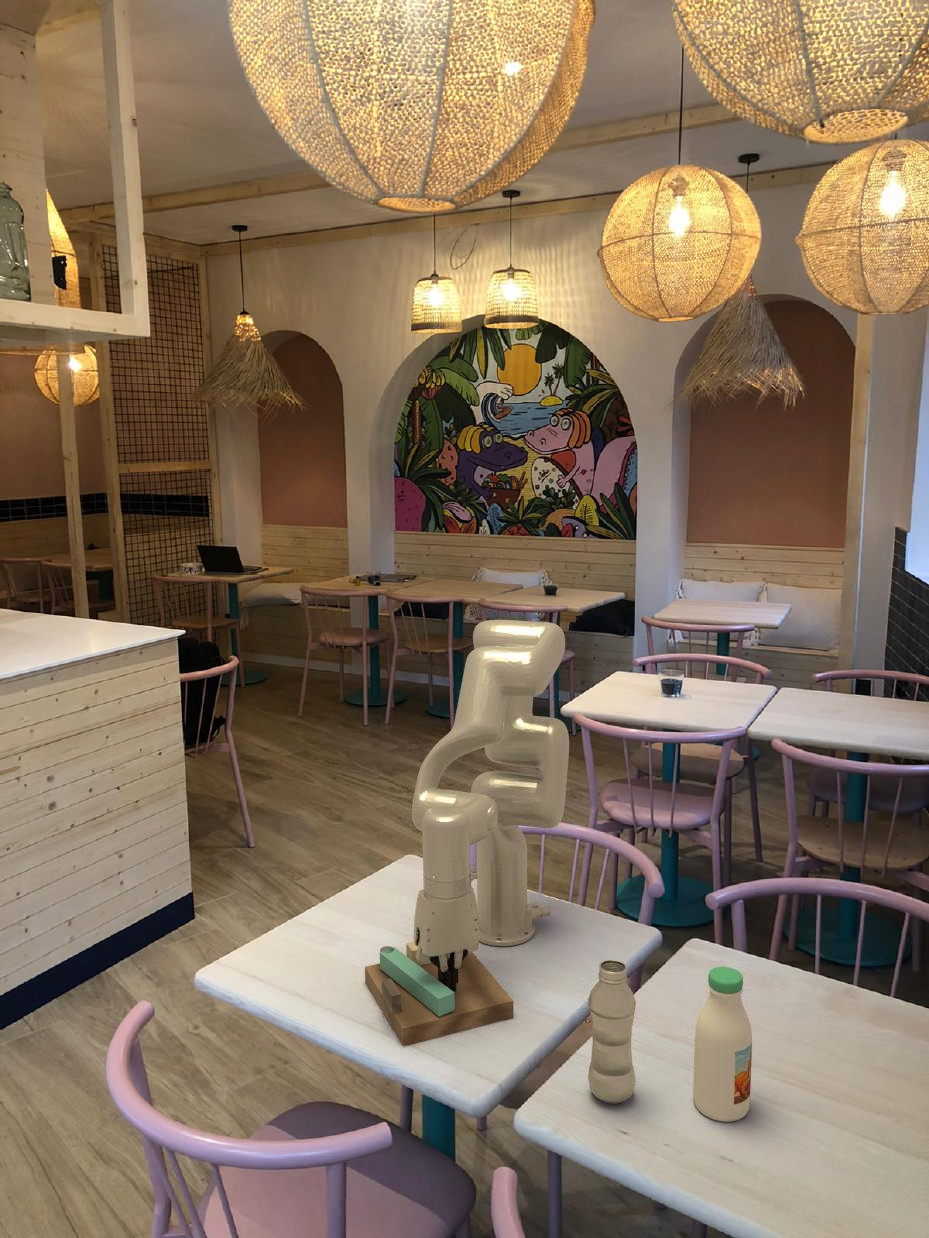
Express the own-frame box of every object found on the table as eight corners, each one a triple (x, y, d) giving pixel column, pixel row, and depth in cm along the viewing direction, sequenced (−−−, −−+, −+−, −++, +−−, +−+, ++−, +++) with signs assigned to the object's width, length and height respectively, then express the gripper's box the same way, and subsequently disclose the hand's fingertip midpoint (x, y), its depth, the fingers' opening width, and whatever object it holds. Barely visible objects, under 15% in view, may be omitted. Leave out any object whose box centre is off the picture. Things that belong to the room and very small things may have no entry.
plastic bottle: (634, 1112, 136) (637, 980, 132) (585, 1106, 137) (586, 975, 134) (635, 1083, 142) (638, 956, 139) (589, 1078, 144) (590, 952, 140)
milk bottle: (715, 1129, 132) (720, 994, 129) (681, 1096, 139) (685, 966, 136) (761, 1114, 135) (767, 981, 132) (725, 1081, 142) (730, 954, 139)
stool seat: (465, 959, 177) (465, 928, 176) (513, 1017, 159) (513, 983, 158) (364, 982, 170) (363, 950, 169) (401, 1046, 152) (400, 1010, 151)
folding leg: (376, 965, 169) (376, 949, 168) (391, 960, 171) (390, 944, 170) (439, 1016, 154) (438, 998, 153) (454, 1009, 155) (454, 992, 155)
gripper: (479, 866, 163) (480, 967, 166) (394, 882, 157) (397, 987, 161) (498, 884, 156) (499, 989, 160) (411, 901, 151) (413, 1010, 154)
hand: (448, 988), depth 160 cm, fingers closed
